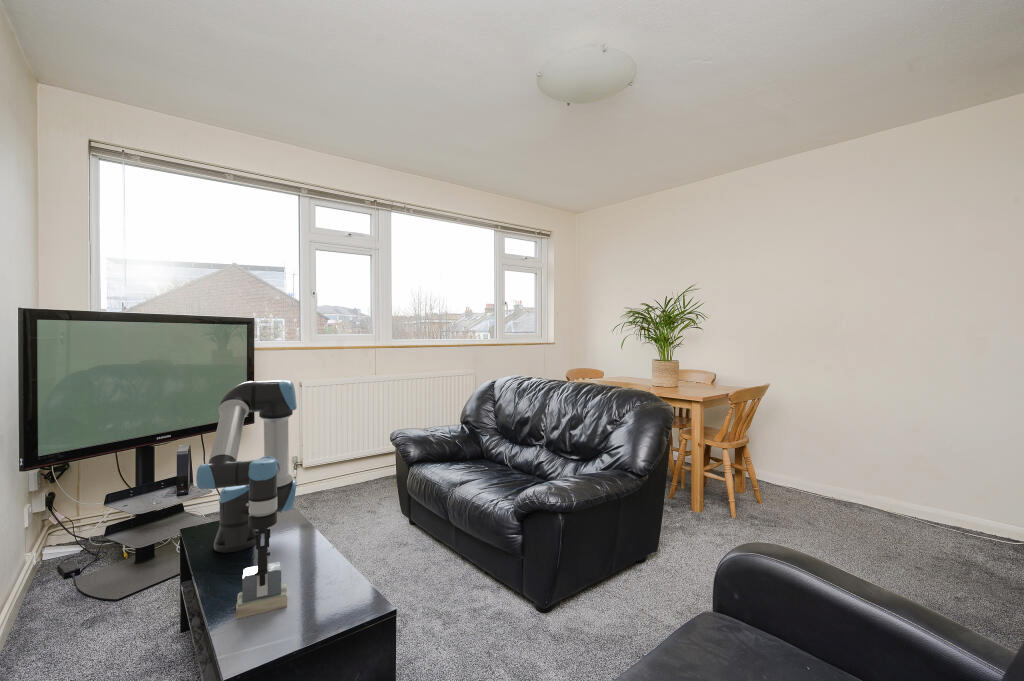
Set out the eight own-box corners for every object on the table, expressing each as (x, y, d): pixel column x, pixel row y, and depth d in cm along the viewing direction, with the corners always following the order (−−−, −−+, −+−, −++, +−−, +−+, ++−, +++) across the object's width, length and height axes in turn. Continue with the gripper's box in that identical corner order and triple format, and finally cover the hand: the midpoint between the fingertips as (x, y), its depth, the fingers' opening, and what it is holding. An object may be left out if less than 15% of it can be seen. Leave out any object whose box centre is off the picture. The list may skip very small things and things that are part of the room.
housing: (280, 584, 141) (281, 560, 141) (281, 594, 136) (281, 569, 136) (243, 592, 136) (243, 568, 136) (242, 602, 131) (242, 577, 131)
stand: (238, 604, 136) (238, 592, 136) (286, 593, 143) (286, 581, 143) (236, 618, 129) (236, 606, 129) (287, 606, 135) (287, 594, 135)
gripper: (250, 502, 144) (249, 573, 144) (246, 527, 125) (246, 609, 125) (276, 498, 147) (276, 568, 147) (277, 522, 128) (277, 602, 128)
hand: (262, 587), depth 136 cm, fingers open, 9 cm apart
